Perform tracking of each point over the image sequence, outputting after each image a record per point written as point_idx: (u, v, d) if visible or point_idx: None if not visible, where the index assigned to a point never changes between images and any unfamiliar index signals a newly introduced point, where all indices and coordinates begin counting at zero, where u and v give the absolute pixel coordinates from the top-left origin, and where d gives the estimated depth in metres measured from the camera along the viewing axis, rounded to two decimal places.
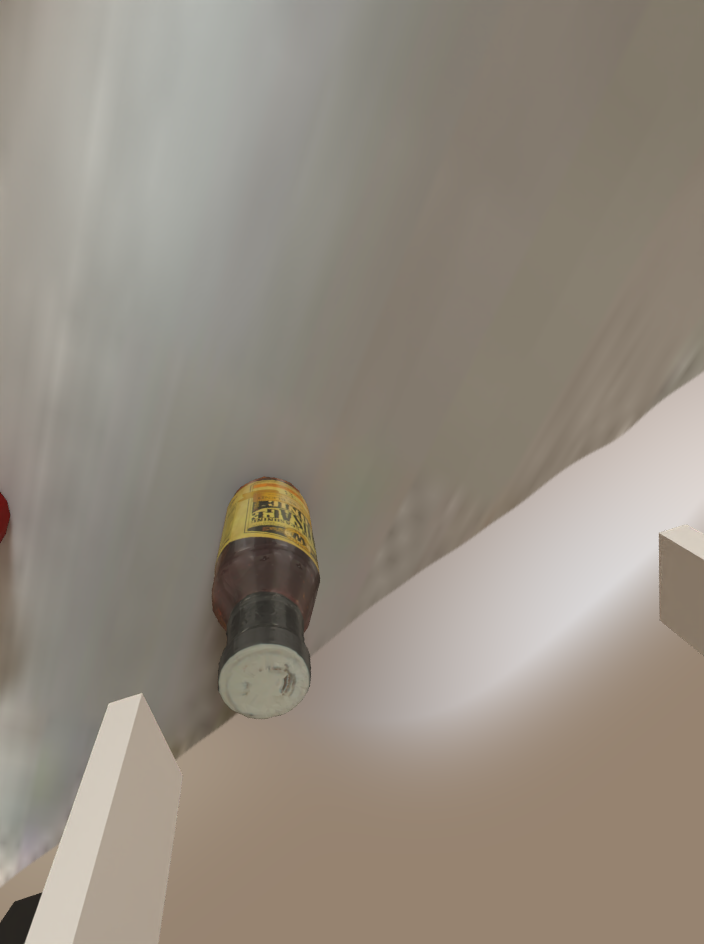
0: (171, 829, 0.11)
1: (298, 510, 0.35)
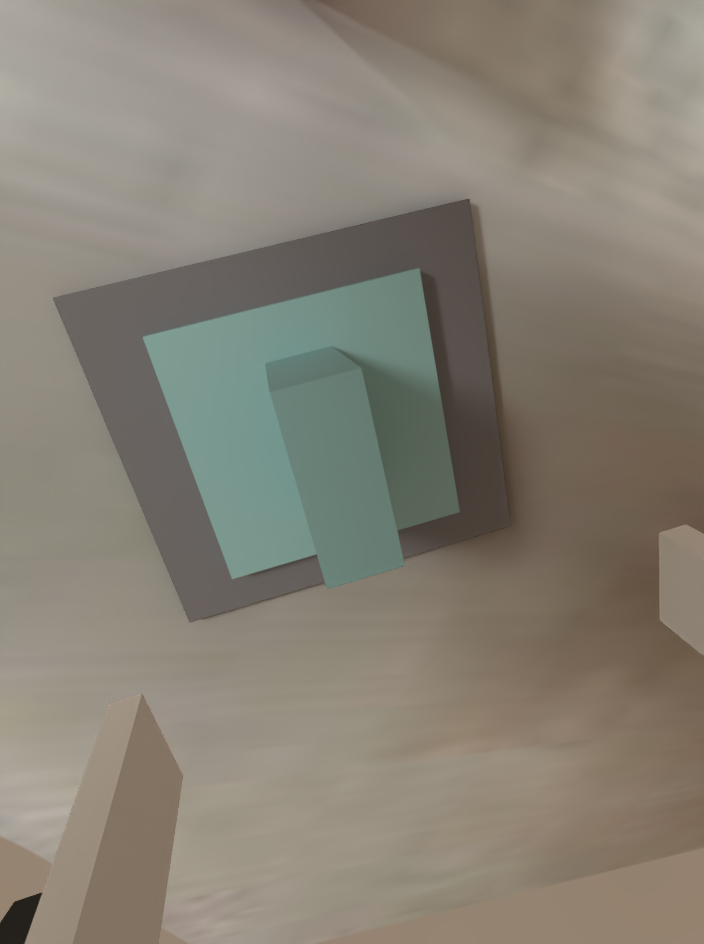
0: (171, 829, 0.11)
1: None
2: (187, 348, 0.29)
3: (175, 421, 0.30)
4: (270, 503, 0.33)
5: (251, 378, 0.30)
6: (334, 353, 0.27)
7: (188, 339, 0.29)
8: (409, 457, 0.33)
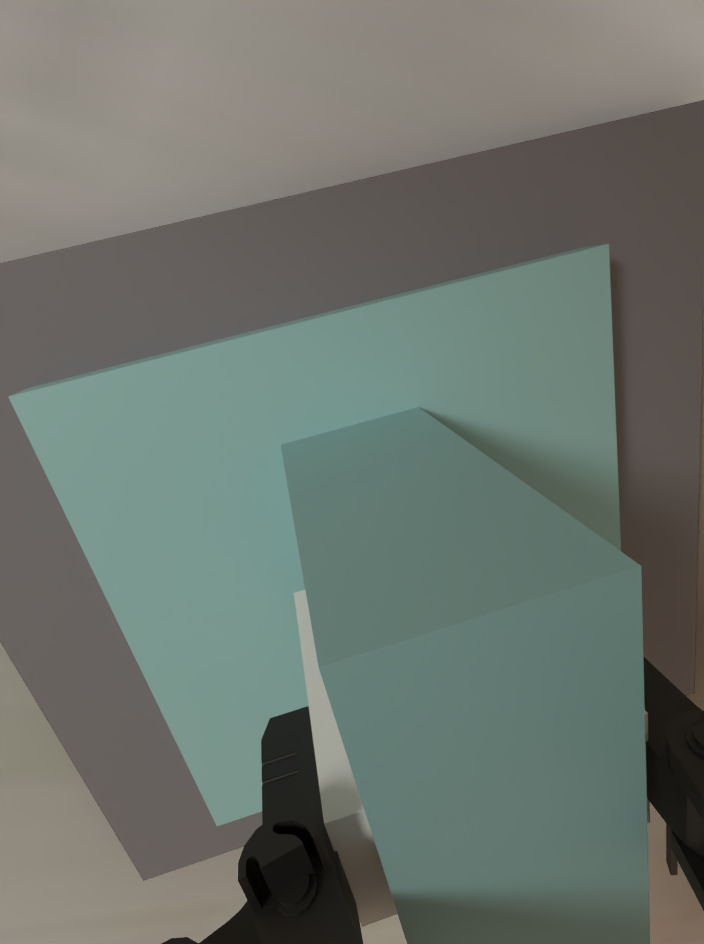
0: None
1: None
2: (112, 419, 0.13)
3: (94, 565, 0.14)
4: (289, 699, 0.17)
5: (252, 475, 0.14)
6: (447, 439, 0.12)
7: (113, 399, 0.13)
8: None
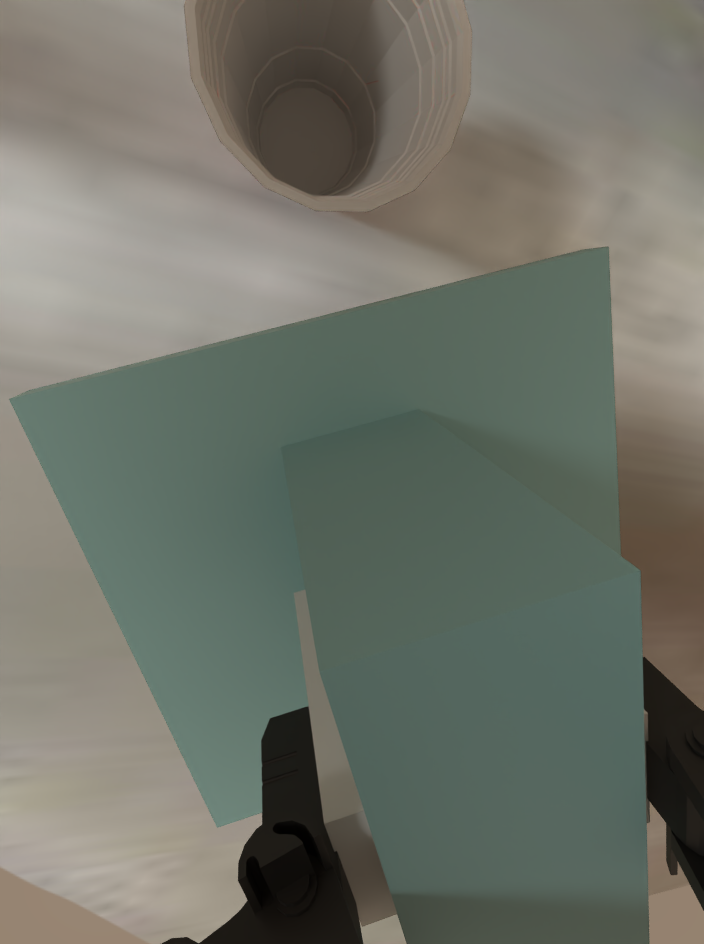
0: None
1: None
2: (113, 422, 0.13)
3: (94, 567, 0.14)
4: (289, 701, 0.17)
5: (253, 477, 0.14)
6: (447, 442, 0.12)
7: (114, 402, 0.13)
8: None
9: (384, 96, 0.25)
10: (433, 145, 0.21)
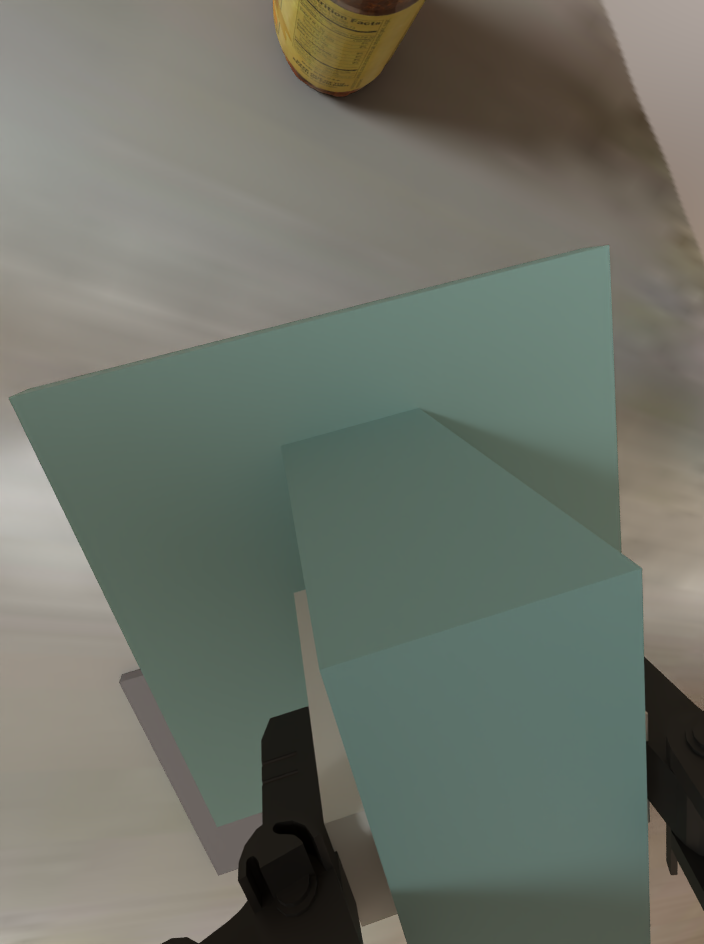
0: None
1: None
2: (112, 421, 0.13)
3: (94, 566, 0.14)
4: (289, 700, 0.17)
5: (252, 476, 0.14)
6: (448, 441, 0.12)
7: (114, 400, 0.13)
8: None
9: None
10: None
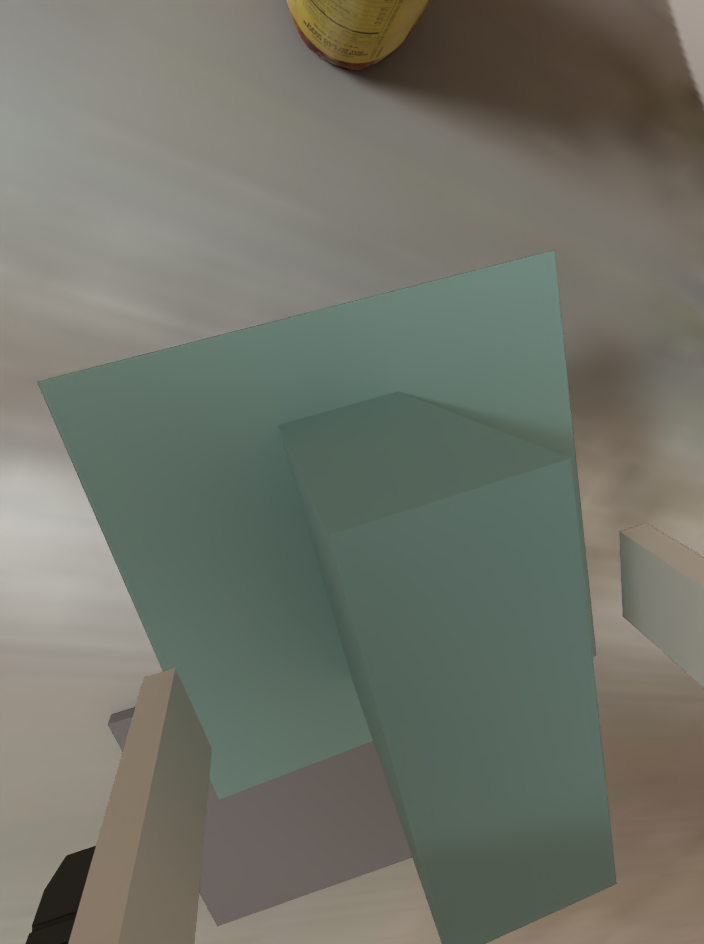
0: (204, 796, 0.12)
1: None
2: (129, 402, 0.15)
3: (108, 538, 0.16)
4: (286, 668, 0.18)
5: (252, 453, 0.16)
6: (423, 408, 0.14)
7: (130, 384, 0.15)
8: None
9: None
10: None
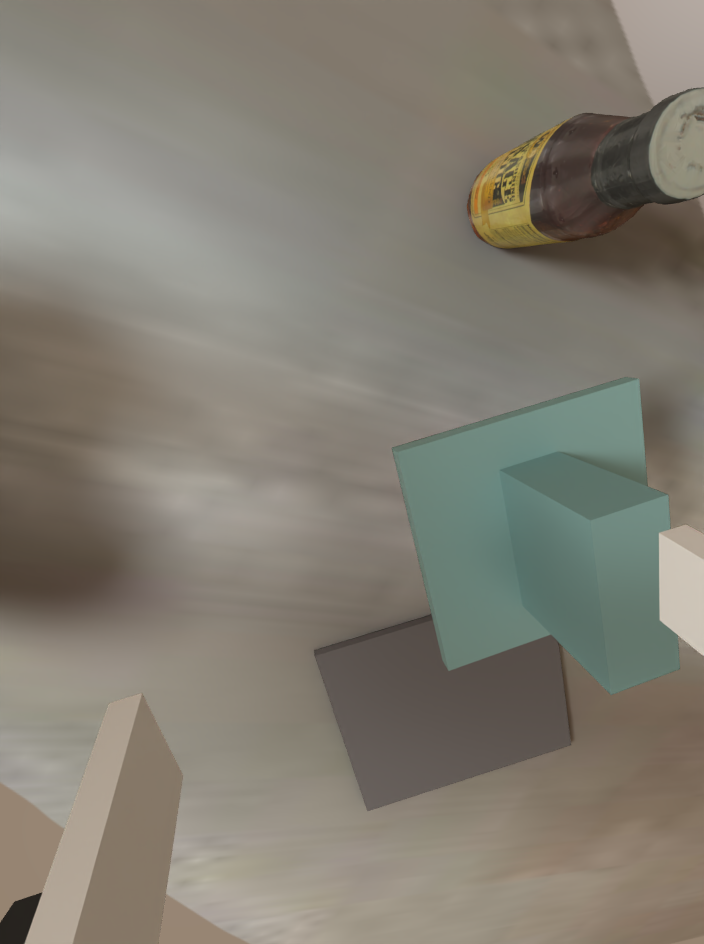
0: (171, 829, 0.11)
1: (508, 155, 0.33)
2: (434, 460, 0.31)
3: (416, 526, 0.32)
4: (490, 597, 0.34)
5: (486, 484, 0.32)
6: (584, 465, 0.29)
7: (436, 452, 0.31)
8: None
9: None
10: None
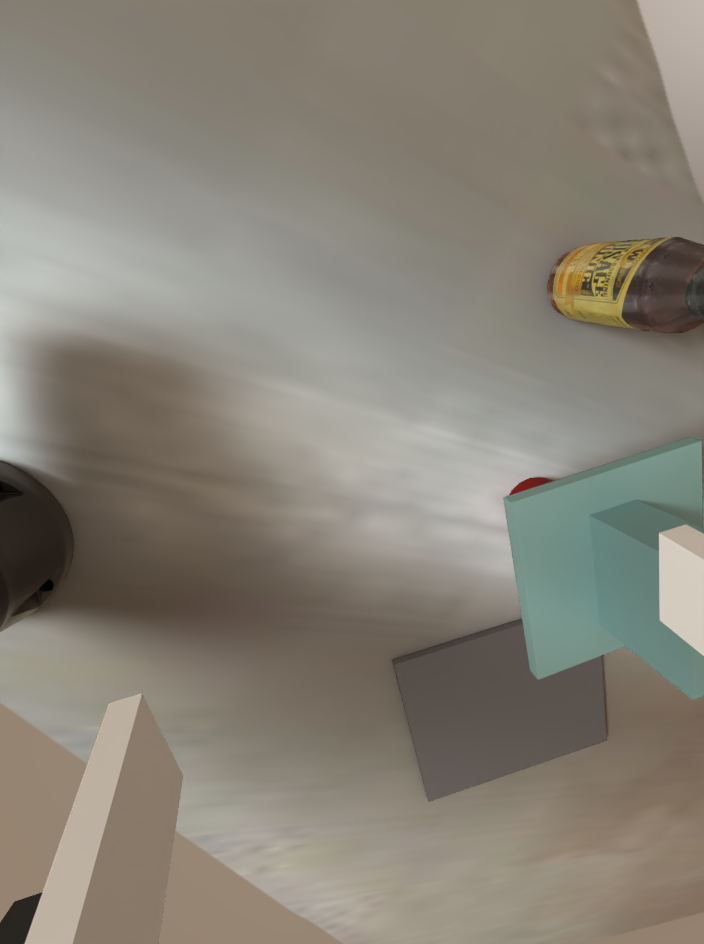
0: (171, 829, 0.11)
1: (596, 254, 0.39)
2: (539, 508, 0.38)
3: (521, 561, 0.39)
4: (575, 618, 0.41)
5: (578, 526, 0.39)
6: (664, 514, 0.36)
7: (541, 501, 0.38)
8: None
9: None
10: None
